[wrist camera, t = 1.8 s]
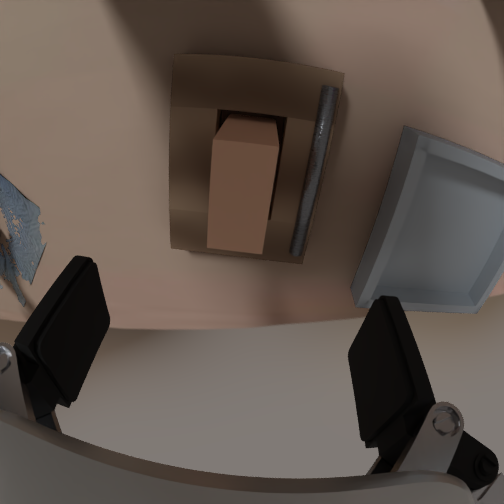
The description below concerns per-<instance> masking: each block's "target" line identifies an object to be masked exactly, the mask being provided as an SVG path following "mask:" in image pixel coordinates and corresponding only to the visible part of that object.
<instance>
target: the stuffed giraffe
mask: <svg viewBox="0 0 504 504" xmlns="http://www.w3.org/2000/svg"><path fill="white" fill-rule="evenodd" d="M1 203H2V204H1ZM8 206H9V207H8ZM0 207H1V208H2V210H3V211H2V213H3V212H4V213H3V214H5V216H6V219H7V222H8V224H7V227H8V225H9V227H10V228H9V227H8V230H9V232H10V235H11V236H12V238H10V239H9V240H7V239H6V242H7V241H8V242H9V247H8V249H9V250H10V252H11V254H10V255H9V256H8V254H9V253H8V254H7V252H6V250H5V248H4V246H3V244H2V245H1V248H2V250H3V253H4V256H2V255H1V252H0V274H1V276H2V274H3V273H4V274H5V276H6V278H5V276H4V280H5V279H7V280H8V281H9V280H10V282H11V283H12V284H13V288H14V290H15V291H16V293H17V296H18V300H19V302H20V303H21V304H22V306H23V307H24V304H25V302H26V300H25V299H24V297H23V296H22V293H21V290H20V289H19V286H18V284H17V281H16V278H15V275H16V277H17V276H19V275H20V273H19V271H18V270H17V268H16V267H15V266H14V265H17V267H18V269H19V270H20V271H21V273H22V278H23V279H25V280H26V281H27V280H29V282H30V284H31V282H32V280H33V277H34V274H35V269H36V268H37V267H36V266H37V265H38V262H39V260H40V257H41V255H42V252H43V250H44V247H45V245H46V243H45V244H44V245H42V244H41V237H42V236H41V234H40V231H39V226H40V223H39V222H38V216H39V215H40V209H39V207H37V206H36V205H35V204H34V203H32V202H30V201H29V200H27V199H26V198H24V196H23V195H22V194H20V193H19V191H18V190H17V189H16V188H15V187H14V186H13V185H12V184H11V183H10V182H9V181H7V180H6V179H5V178H4V177H2V176H1V175H0ZM8 208H9V209H10V210H11V211H12V212H13V213H11V212H9V211H10V210H9V209H8ZM10 215H11V216H12V217H11V216H10ZM13 215H15V216H16V219H15V220H17V219H18V220H19V219H20V218H21V220H22V221H23V222H21V221H20V220H19V222H20V223H21V225H22V227H23V229H22V227H21V226H20V223H19V227H20V229H19V227H17V226H18V225H17V224H16V225H17V226H15V225H14V224H13V223H12V220H13V219H14V217H13ZM5 216H4V218H5ZM8 217H9V218H8ZM9 220H10V222H11V225H10V223H9ZM7 222H6V223H7ZM41 224H44V222H42V223H41ZM11 226H12V228H11ZM14 227H16V228H17V229H18V231H17V232H18V233H19V234H20V237H18V234H15V233H14V232H16V230H15V229H14ZM20 230H21V231H20ZM21 233H22V234H21ZM16 235H17V236H16ZM16 239H17V240H16ZM13 240H14V241H13ZM10 241H13V242H10ZM20 241H21V244H20ZM0 244H1V243H0ZM25 248H26V249H25ZM11 256H12V257H11ZM9 257H10V258H9ZM4 258H5V259H4ZM12 258H13V259H14V260H15V262H16V264H13V263H12V262H13V260H12ZM10 259H11V261H12V262H11V261H10ZM32 261H33V262H34V265H32V263H31V262H32ZM3 269H4V270H3ZM4 271H5V272H4ZM4 274H3V275H4ZM2 286H3V285H0V288H1V289H2V288H3V287H2Z"/></svg>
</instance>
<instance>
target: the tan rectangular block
mask: <svg viewBox="0 0 504 504" xmlns="http://www.w3.org/2000/svg"><path fill="white" fill-rule="evenodd" d="M278 152H279V141H278V134H277V127H276V119H272V118H265V117H257V116H248V115H239V114H230V115H229V116H228V118H227V119H226V121H225V122H224V123H223V125H222V126H221V128H220V129H219V131H218V132H217V134H216V135H215V137H214V138H213V145H212V159H211V174H210V191H209V209H208V231H207V248H212V249H221V250H229V251H237V252H246V253H254V254H262V251H263V245H264V239H265V233H266V227H267V220H268V214H269V208H270V202H271V196H272V189H273V183H274V177H275V171H276V164H277V158H278Z"/></svg>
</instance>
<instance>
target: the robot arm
mask: <svg viewBox="0 0 504 504" xmlns="http://www.w3.org/2000/svg"><path fill="white" fill-rule="evenodd" d="M109 325H110V316H109V312H108V309H107V305H106V301H105V297H104V293H103V289H102V285H101V281H100V277H99V272H98V268H97V264H96V263H94V262H93V260H92V258H90V257H84V256H78V255H77V256H75V257H73V259H72V260H71V261H70V262H69V264H68V265H67V266H66V268H65V269H64V270H63V271H62V273H61V274H60V275H59V277H58V278H57V279H56V281H55V282H54V283H53V285H52V286H51V288H50V289H49V290H48V292H47V293H46V294H45V296H44V297H43V299H42V300H41V301H40V303H39V304H38V306H37V307H36V309H35V310H34V312H33V313H32V315H31V316H30V318H29V319H28V321H27V322H26V324H25V325H24V327H23V328H22V330H21V332H20V333H19V335H18V336H17V338H16V339H15V344H14V346H13V347H12V346H11V345H10V344H8V343H4V342H1V343H0V504H504V475H503V474H502V473H500V474H498V470H499V464H498V460H497V457H496V455H495V454H494V453H493V452H492V451H491V450H490V449H489V448H487V447H486V446H484V445H483V444H482V443H480V442H479V441H477V440H476V439H475V438H473V437H472V436H470V435H469V434H468V433H466V432H465V431H464V430H463V429H464V419H463V417H462V414H461V412H460V411H459V409H458V408H457V407H455V406H454V405H453V404H450V403H448V402H439V403H436V401H435V398H434V394H433V391H432V388H431V385H430V382H429V379H428V375H427V373H426V369H425V367H424V364H423V361H422V358H421V355H420V352H419V349H418V347H417V344H416V341H415V339H414V336H413V333H412V331H411V328H410V325H409V323H408V320H407V318H406V315H405V313H404V310H403V308H402V305H401V303H400V301H399V299H398V297H396V296H386V295H381V296H380V297H379V298H378V299H375V300H374V301H373V303H372V306H371V308H370V310H369V312H368V314H367V316H366V318H365V320H364V322H363V324H362V326H361V328H360V330H359V332H358V334H357V335H356V337H355V339H354V341H353V343H352V345H351V347H350V349H349V352H348V360H349V366H350V372H351V378H352V384H353V389H354V396H355V402H356V409H357V416H358V423H359V430H360V437H361V440H362V441H365V446H366V448H374V447H378V451H379V456H378V458H377V459H376V461H375V462H374V464H373V465H372V467H371V468H370V470H369V471H368V472H367V474H366V475H363V476H350V477H335V478H306V479H291V478H262V477H247V476H235V475H226V474H218V473H211V472H204V471H197V470H190V469H185V468H179V467H175V466H170V465H164V464H160V463H155V462H152V461H147V460H143V459H139V458H135V457H132V456H128V455H125V454H121V453H118V452H114V451H111V450H108V449H104V448H102V447H98V446H95V445H92V444H90V443H87V442H84V441H81V440H79V439H76V438H73V437H70V436H68V435H65V434H63V433H62V431H61V429H60V426H59V423H58V420H57V417H56V413H55V410H54V409H55V407H56V404H60V405H62V406H65V407H67V408H69V407H70V405H71V402H74V401H76V399H77V397H78V395H79V392H80V390H81V387H82V385H83V383H84V380H85V378H86V376H87V373H88V371H89V369H90V367H91V364H92V362H93V360H94V358H95V355H96V353H97V351H98V349H99V347H100V345H101V342H102V340H103V338H104V336H105V334H106V332H107V330H108V328H109Z"/></svg>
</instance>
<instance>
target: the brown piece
mask: <svg viewBox="0 0 504 504" xmlns="http://www.w3.org/2000/svg"><path fill="white" fill-rule="evenodd" d="M344 74H345V73H341V72H337V71H332V70H328V69H323V68H318V67H313V66H307V65H302V64H296V63H290V62H283V61H276V60H269V59H260V58H251V57H240V56H228V55H210V54H174V61H173V74H172V90H171V109H170V139H169V211H170V242H171V248H172V249H180V250H188V251H197V252H205V253H213V254H221V255H229V256H238V257H246V258H254V259H263V260H271V261H279V262H288V263H296V264H302V263H303V259H304V255H305V251H306V247H307V244H308V240H309V236H310V232H311V228H312V224H313V220H314V216H315V212H316V207H317V203H318V199H319V195H320V191H321V186H322V182H323V178H324V173H325V169H326V164H327V160H328V155H329V151H330V146H331V141H332V136H333V132H334V127H335V122H336V117H337V112H338V107H339V101H340V96H341V91H342V85H343V80H344ZM221 109H223V110H234V111H244V112H253V113H261V114H269V115H276V116H283V117H285V120H284V127H283V133H282V140H281V146H280V152H279V159H278V165H277V171H276V177H275V184H274V190H273V196H272V202H271V207H270V208H269V214H268V220H267V227H266V233H265V239H264V245H263V251H262V254H254V253H246V252H237V251H229V250H221V249H212V248H207V231H208V209H209V191H210V174H211V159H212V145H213V138H214V137H215V135H216V134H217V132H218V131H219V129H220V120H221Z"/></svg>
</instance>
